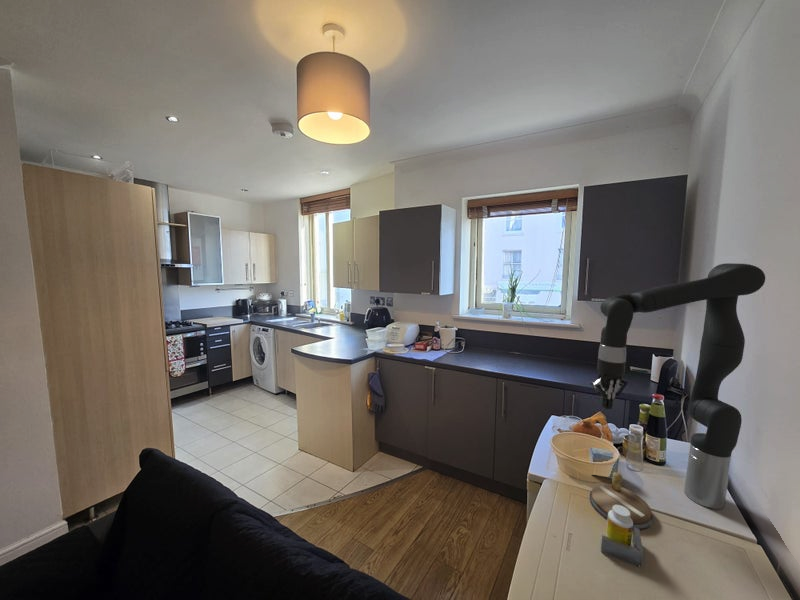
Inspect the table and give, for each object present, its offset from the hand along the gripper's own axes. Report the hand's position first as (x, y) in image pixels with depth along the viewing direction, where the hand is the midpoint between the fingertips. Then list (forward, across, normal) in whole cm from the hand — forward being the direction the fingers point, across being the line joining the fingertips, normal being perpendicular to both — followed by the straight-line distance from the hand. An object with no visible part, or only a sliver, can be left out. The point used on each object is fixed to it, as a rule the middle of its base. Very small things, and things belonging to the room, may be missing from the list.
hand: (607, 408), depth 106 cm
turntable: (+26, -4, -11) cm, 28 cm away
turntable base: (+27, -4, -11) cm, 29 cm away
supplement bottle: (+27, -16, -21) cm, 38 cm away
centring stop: (+27, -16, -25) cm, 40 cm away
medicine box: (+27, +4, +3) cm, 28 cm away
